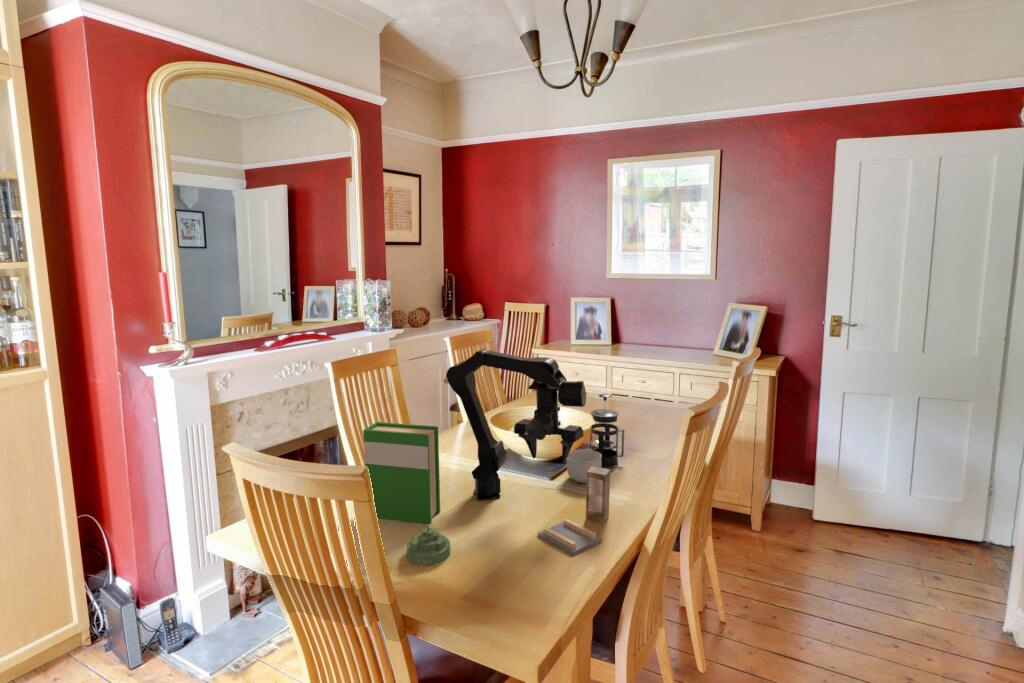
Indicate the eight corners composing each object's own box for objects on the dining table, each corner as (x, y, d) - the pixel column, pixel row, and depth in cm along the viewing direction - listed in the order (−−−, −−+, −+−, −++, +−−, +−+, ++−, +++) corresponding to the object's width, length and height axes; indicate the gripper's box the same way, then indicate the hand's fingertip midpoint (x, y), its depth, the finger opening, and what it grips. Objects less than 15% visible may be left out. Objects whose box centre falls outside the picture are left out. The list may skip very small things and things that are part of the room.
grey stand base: (537, 535, 144) (537, 528, 144) (566, 523, 151) (566, 516, 150) (573, 555, 135) (573, 547, 135) (601, 541, 142) (602, 533, 141)
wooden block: (585, 518, 153) (586, 471, 151) (590, 512, 157) (591, 466, 155) (604, 522, 151) (605, 475, 149) (608, 516, 155) (610, 469, 153)
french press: (583, 465, 190) (585, 396, 186) (591, 455, 199) (592, 389, 195) (619, 470, 186) (621, 400, 182) (625, 460, 194) (627, 392, 191)
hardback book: (440, 512, 158) (438, 426, 154) (430, 524, 150) (427, 435, 146) (380, 505, 162) (376, 421, 158) (367, 517, 155) (363, 430, 151)
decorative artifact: (454, 545, 141) (413, 542, 142) (453, 517, 140) (412, 515, 141) (445, 567, 131) (401, 565, 132) (444, 538, 130) (400, 536, 131)
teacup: (592, 489, 171) (592, 463, 170) (559, 481, 177) (559, 456, 176) (610, 473, 183) (611, 449, 182) (579, 467, 189) (579, 443, 187)
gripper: (502, 408, 156) (504, 464, 158) (565, 416, 146) (566, 476, 149) (523, 398, 165) (525, 451, 168) (583, 405, 155) (585, 461, 158)
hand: (549, 460), depth 160 cm, fingers open, 9 cm apart
